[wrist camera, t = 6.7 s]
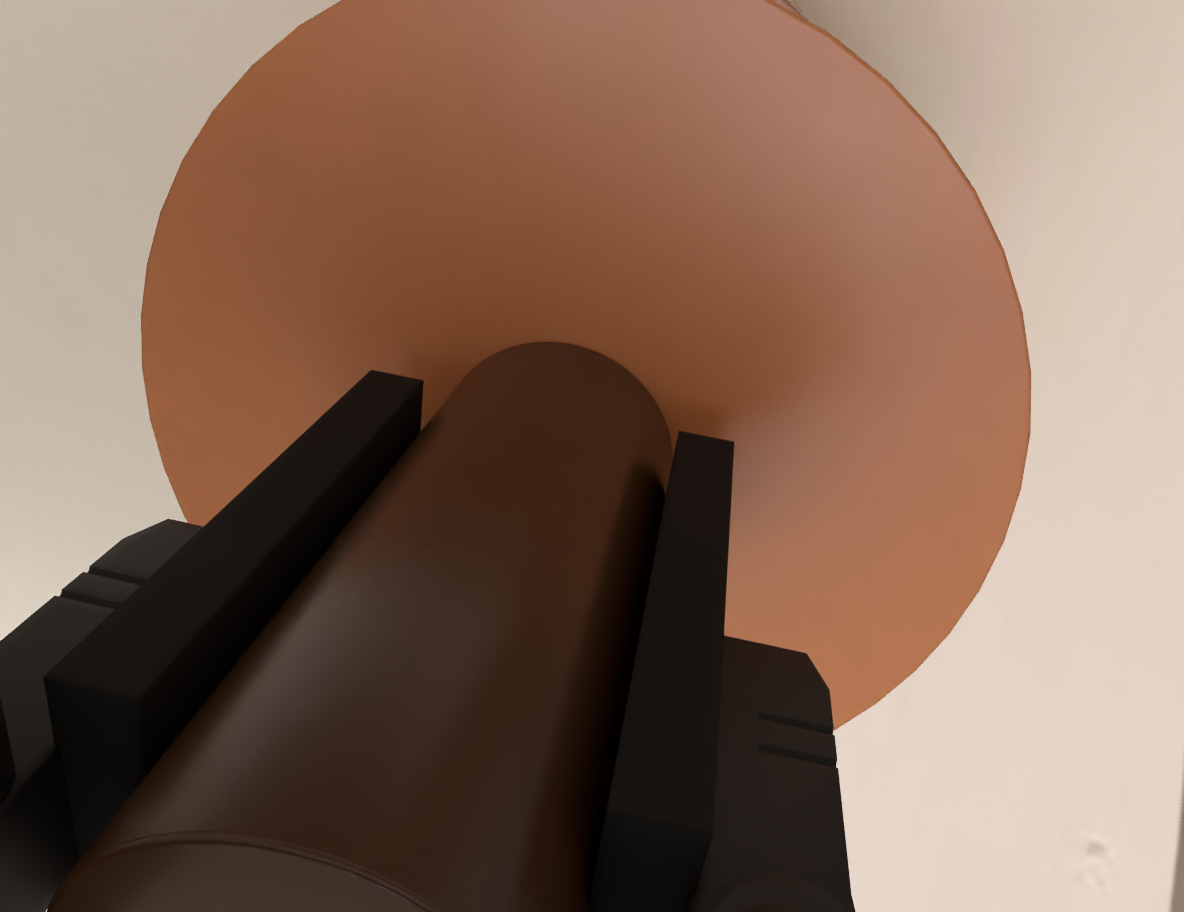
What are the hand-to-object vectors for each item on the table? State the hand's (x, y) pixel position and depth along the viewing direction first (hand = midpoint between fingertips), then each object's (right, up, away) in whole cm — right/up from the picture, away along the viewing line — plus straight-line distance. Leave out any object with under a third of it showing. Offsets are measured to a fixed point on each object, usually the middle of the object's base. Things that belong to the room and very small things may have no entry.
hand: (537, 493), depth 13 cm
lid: (0, +1, +2) cm, 2 cm away
